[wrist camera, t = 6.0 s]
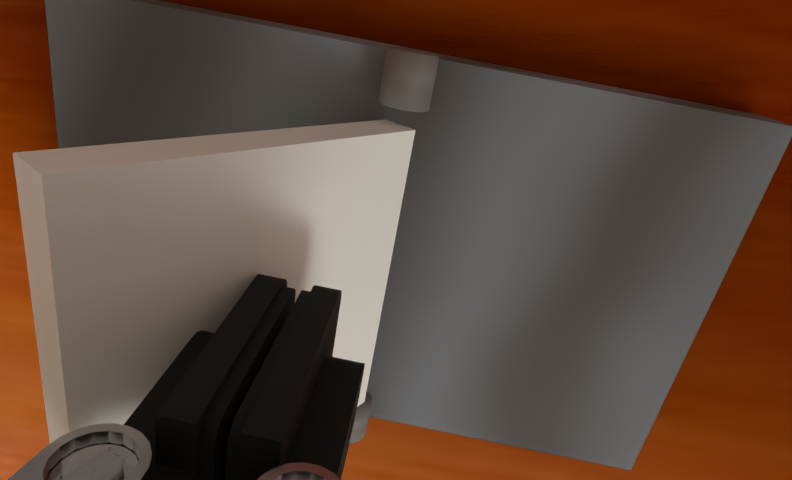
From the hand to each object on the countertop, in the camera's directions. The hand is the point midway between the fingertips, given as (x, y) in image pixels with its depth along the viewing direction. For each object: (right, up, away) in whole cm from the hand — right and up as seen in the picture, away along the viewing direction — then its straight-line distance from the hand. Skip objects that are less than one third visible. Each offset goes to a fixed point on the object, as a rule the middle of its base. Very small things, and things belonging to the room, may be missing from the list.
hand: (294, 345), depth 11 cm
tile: (-1, 0, 0) cm, 1 cm away
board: (+2, +2, +6) cm, 6 cm away
